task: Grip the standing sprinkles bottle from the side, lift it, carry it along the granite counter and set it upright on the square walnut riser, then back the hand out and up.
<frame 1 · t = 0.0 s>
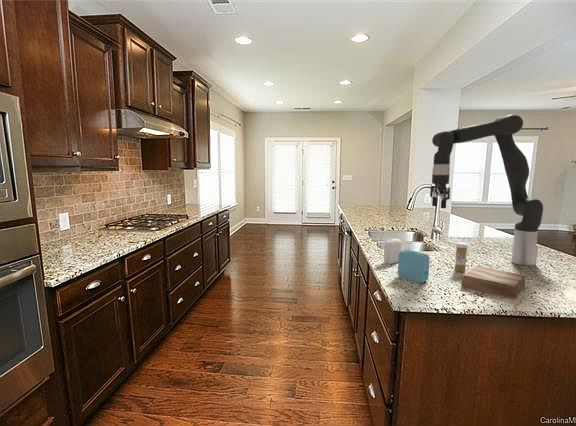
hand: (438, 207, 151), 29 cm above the worktop, tool pointing down, fingers open, 8 cm apart
sprinkles bottle: (459, 271, 146), on the worktop
walnut riser: (492, 286, 126), on the worktop
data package: (412, 279, 136), on the worktop
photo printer: (392, 262, 160), on the worktop
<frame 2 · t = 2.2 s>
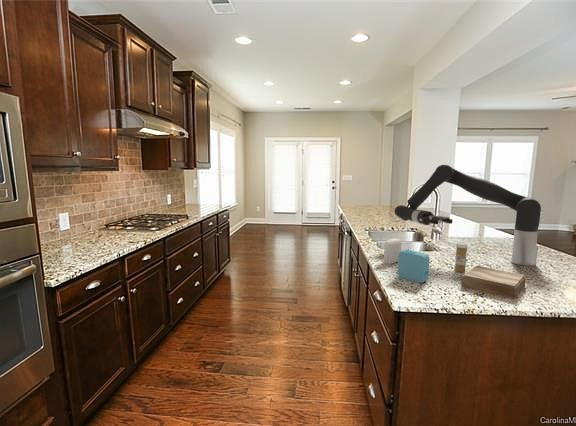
hand: (444, 222, 153), 22 cm above the worktop, tool horizontal, fingers open, 8 cm apart
nothing on the worktop moved.
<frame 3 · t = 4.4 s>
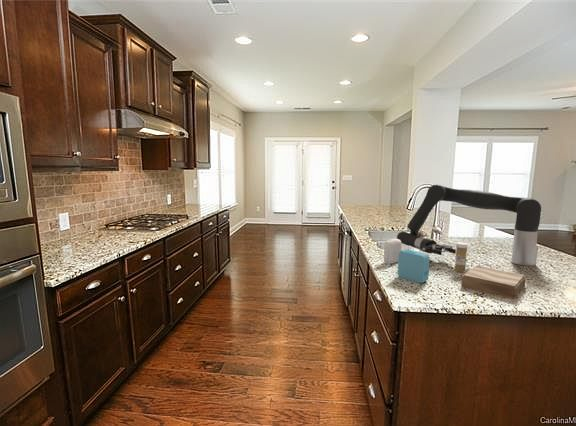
hand: (448, 252, 152), 7 cm above the worktop, tool horizontal, fingers open, 8 cm apart
nothing on the worktop moved.
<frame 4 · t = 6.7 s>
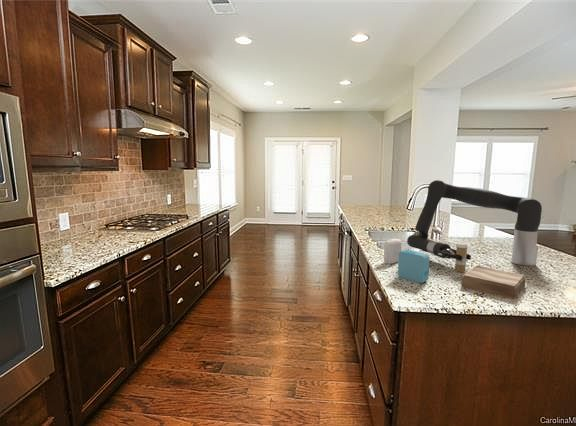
hand: (465, 257, 142), 7 cm above the worktop, tool horizontal, fingers closed on sprinkles bottle, 4 cm apart
sprinkles bottle: (459, 271, 146), on the worktop, touching gripper
everything else where it was.
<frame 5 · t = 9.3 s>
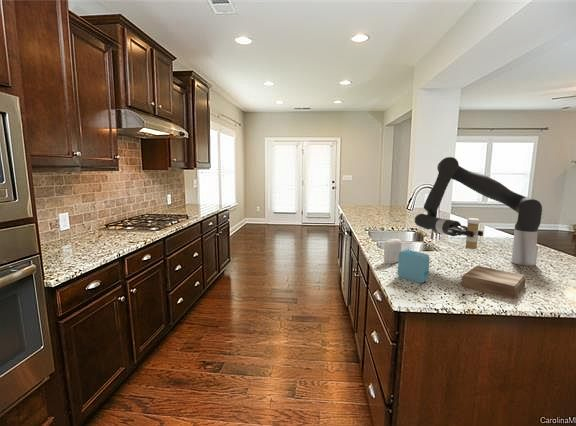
hand: (477, 234, 134), 20 cm above the worktop, tool horizontal, fingers closed on sprinkles bottle, 4 cm apart
sprinkles bottle: (471, 248, 138), point 12 cm above the worktop, touching gripper
everything else where it was.
when the fingers open (13 cm above the worktop, at t = 11.7 s): sprinkles bottle drops 1 cm, resting on walnut riser.
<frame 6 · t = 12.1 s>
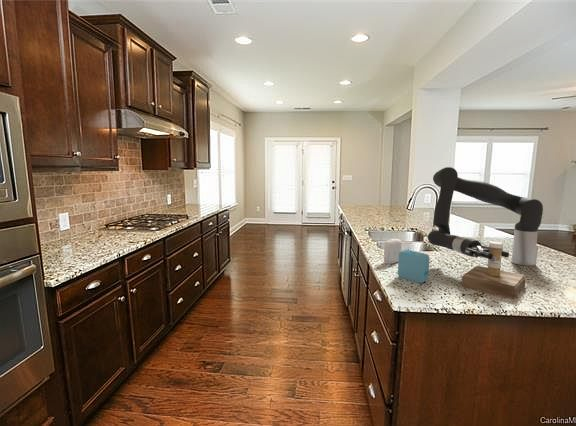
hand: (500, 255, 122), 14 cm above the worktop, tool horizontal, fingers open, 8 cm apart
sprinkles bottle: (493, 275, 126), point 5 cm above the worktop, touching walnut riser
everything else where it was.
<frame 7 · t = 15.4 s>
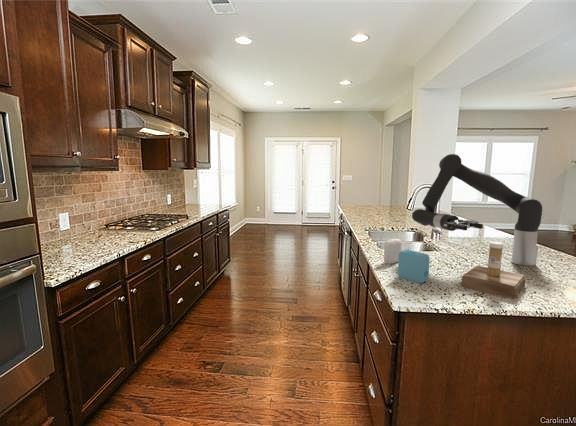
hand: (474, 227, 133), 23 cm above the worktop, tool horizontal, fingers open, 8 cm apart
nothing on the worktop moved.
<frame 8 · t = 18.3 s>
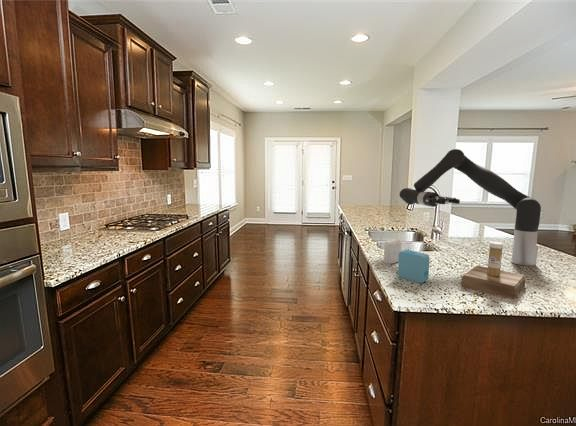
hand: (452, 201, 149), 32 cm above the worktop, tool horizontal, fingers open, 8 cm apart
nothing on the worktop moved.
at the end: sprinkles bottle inside the target area on the walnut riser (0.1 cm from its centre), point 4.8 cm above the walnut riser's base; sprinkles bottle tilted 0°; the gripper is holding nothing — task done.
